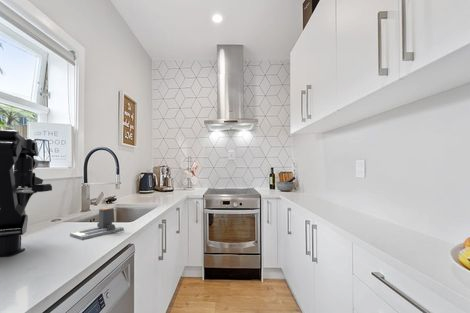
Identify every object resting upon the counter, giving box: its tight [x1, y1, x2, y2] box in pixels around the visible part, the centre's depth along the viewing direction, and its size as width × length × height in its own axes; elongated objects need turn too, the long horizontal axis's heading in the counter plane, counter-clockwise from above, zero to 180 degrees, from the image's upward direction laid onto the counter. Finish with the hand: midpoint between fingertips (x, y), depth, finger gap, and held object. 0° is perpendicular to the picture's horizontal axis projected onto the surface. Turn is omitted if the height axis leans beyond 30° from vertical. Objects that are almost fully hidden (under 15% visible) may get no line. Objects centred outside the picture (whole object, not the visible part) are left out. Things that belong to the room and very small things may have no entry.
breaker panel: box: [69, 222, 125, 241], centre depth 110 cm, size 18×10×3 cm, turn 146°
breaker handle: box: [98, 207, 113, 229], centre depth 113 cm, size 4×4×9 cm
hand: (22, 210), depth 99 cm, fingers closed
